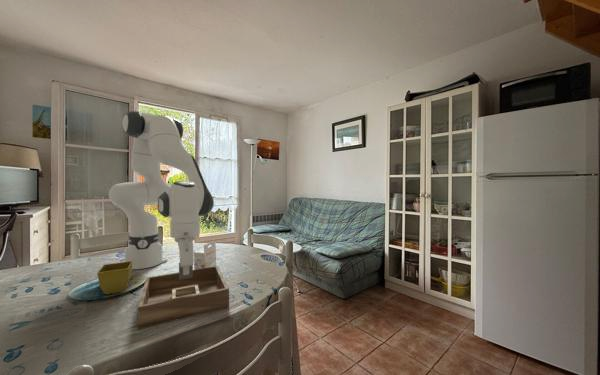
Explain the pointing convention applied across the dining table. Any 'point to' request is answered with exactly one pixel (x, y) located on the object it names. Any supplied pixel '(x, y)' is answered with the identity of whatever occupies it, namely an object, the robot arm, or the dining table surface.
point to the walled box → (181, 296)
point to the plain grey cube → (185, 275)
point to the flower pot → (114, 277)
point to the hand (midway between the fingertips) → (185, 271)
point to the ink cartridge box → (205, 256)
